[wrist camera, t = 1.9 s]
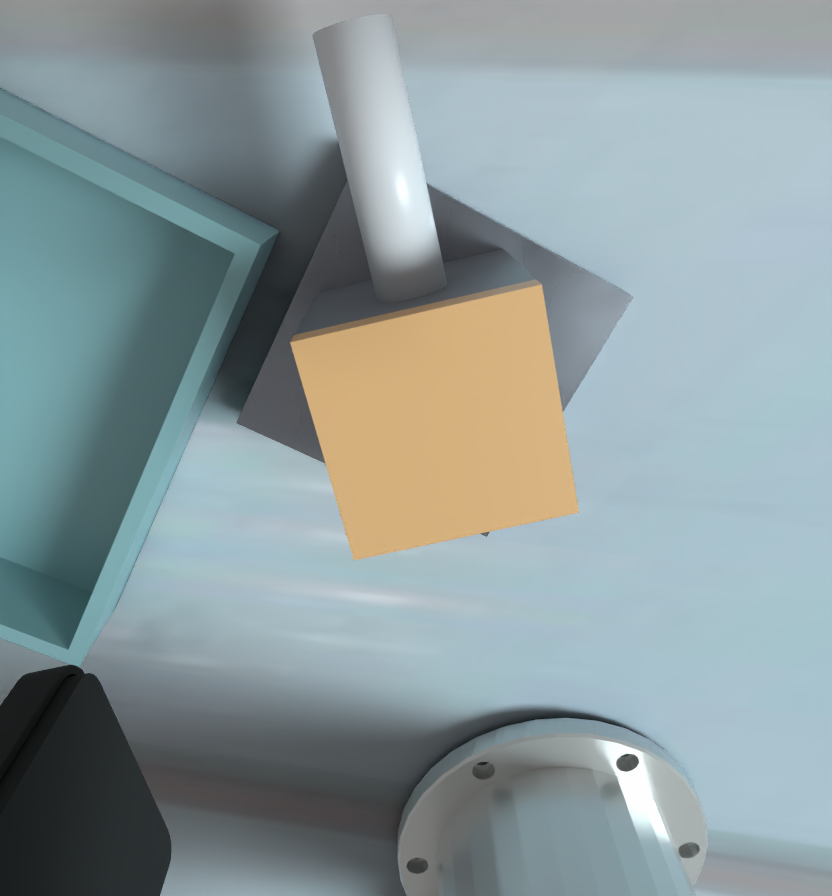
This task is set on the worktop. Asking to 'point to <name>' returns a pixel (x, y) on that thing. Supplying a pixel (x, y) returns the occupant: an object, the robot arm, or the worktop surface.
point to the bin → (99, 362)
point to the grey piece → (460, 236)
